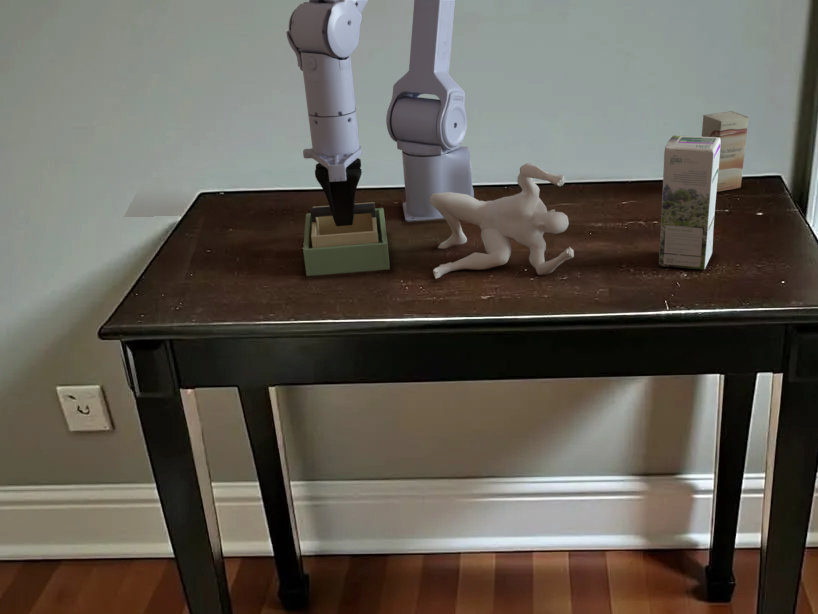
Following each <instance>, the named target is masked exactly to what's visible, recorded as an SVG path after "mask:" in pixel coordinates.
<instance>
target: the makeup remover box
mask: <svg viewBox="0 0 818 614" xmlns="http://www.w3.org/2000/svg"><path fill="white" fill-rule="evenodd" d="M748 126H749V116H747V115H744V114H741V113H738V112H735V111H733V110H729V111H720V112H719V111H718V112H714V113H707V114H703V115H702V127H701V128H702V129H701V137H719V138H720V140H721V144H720V158H719V169H718V180H717V191H716V193H717V192H718V193H719V192H724V191H729V190H735V189H740V188H741V187H742V179H743V171H744V161H745V153H746V143H747V136H748V135H747V134H748Z"/></svg>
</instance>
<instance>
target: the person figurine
mask: <svg viewBox="0 0 818 614" xmlns="http://www.w3.org/2000/svg"><path fill="white" fill-rule="evenodd" d="M516 179H517V180H516V182H517V185H518V186H519V187H520V188H521V192H519V193H516V194H513V195H509V196H503V197H500V198H497V199H494V200H486V201H484V200H479V199H477V198H475V197H474V198H473V197H471V196H469V195H466V194H459V193H453V192H445V193H433V194H432V196H431V198H430V203H431V204H432V206H434V207H435V208H436V209H437V210H438V211H439V212H440V213H441V215H442V216H443V217H444V219H443V220H445V221H446V223H447V225H448V226H449V228H450V231H451V235H450V236H449V237H448V238H447V239H445V240H444V241H442V242H440V243H439V245H438V246H437V249H449V248H450V247H452V246H454V245H455V246H456V245H464V244H467V242H468V238H467V236H466V235H465V233H464V231H463V228H462V225H461V221H462V222H464V223H468V224H472V225H476V226H478V227H479V229H480V230H481V232H480V237H481V241H482V243H483V246H484V250H485V252H486V253H484V252H475V251H474V252H473V253H471V254H469V255H467V256H465V257H462V258H460V259H458V260H456V261H453V262H447V263H442V264H439V266H437V267H434V269H433V270H432V273H433V277H434V279H435V280H437V279H439V278H441V277H442V276H443V275H446V274H448V273H451V272H454V271H460V270H475V271H481V270H488V269H492V268H496V267H499V266H503V265H505V264H507V263H508V261H509V259H510V257H511V255H512V251H513V249H512V243H511V239H512V240H515V241H516V242H517V243H518V244H520V245H522V246H525V247H527V248H528V249H529V255H528V262H529V264H530V265H531V266H532V267H533V268H534V269H535V272H536V274H537V275H538V276H546V275H550V274H552V273H553V272H554V271H555V270H556V269H557V268H558V267H559V266H560V265H561V264H563V263H564V262H565V261H568V260H570V259H573V258H575V251H574V249H573V248H572V247H571V246H568V248H566V249H565V250H564V251H562V252H561V253H560V254H559V255H558V256H557V257H553V258H552V259H550V260H547V261H546V260H545V252H546V250H547V243H546V240H545V238H544V234H545V233H548V234H554V235H555V234H556V235H557V234H561V233H564V232H565V231H567V229H568V228H569V224H570V221H569V217H568V215H567V214H566V213H564V212H562V211H556V209H555V208H554V209H550V210H548V208H547V205H545V203H544V202H543V200H542V199H541V198H540V191H541V189H540V187H539V185H537V184H536V183H535V181H534V179H537V180H542V181H547V182H549V183H551V184H552V185H555V186H557V187H561V186H563V185H564V184H565V182H566V178H565V176H564V175H563V174H556V173H552V172H549V171H545V170H543V169H542V168H541V167H538V166H537V165H535V164H532V163H531V162H530V163H529V162H528V163H525V164H524V163H523V165H521V166H520V167H519V174H518V176H517V178H516Z"/></svg>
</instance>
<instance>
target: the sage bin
mask: <svg viewBox="0 0 818 614" xmlns="http://www.w3.org/2000/svg"><path fill="white" fill-rule="evenodd" d="M375 214H376V224H377V234H378V243H371V244H359V245H346V246H333V247H320V248H312V240H311V232H312V218H311V212H310V213H305V222H304V232H303V233H304V235H303V245H302V253H303V260H304V261H303V262H304V269H305V275H306V277H311V276H323V275H334V274H335V275H336V274H337V275H338V274H348V273H361V272H375V271H384V270H391V268H390V256H389V255H390V254H389V244H388V236H387V235H388V234H387V227H386V221H385V220H386V219H385V210H384V207H377V208H376V207H375Z"/></svg>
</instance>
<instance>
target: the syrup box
mask: <svg viewBox="0 0 818 614" xmlns="http://www.w3.org/2000/svg"><path fill="white" fill-rule="evenodd" d="M720 144H721V140H720V138H719V137H702V136H695V135H694V136H692V135H672V136H671V137H670V139H669V140H668V141H667V143H666V145H665V146H664V152H663V174H662V175H663V176H662V193H661V212H660V233H659V235H660V238H659V254H658V266H659V267H667V268H679V269H690V270H703V271H704V270H706V267H707V265H708V263H709V261H710V259H711V257H712V255H713V246H714V245H713V244H714V229H715V228H714V226H715V212H716V203H717V201H716V200H717V192H716V191H717V180H718V169H719V158H720Z"/></svg>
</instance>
